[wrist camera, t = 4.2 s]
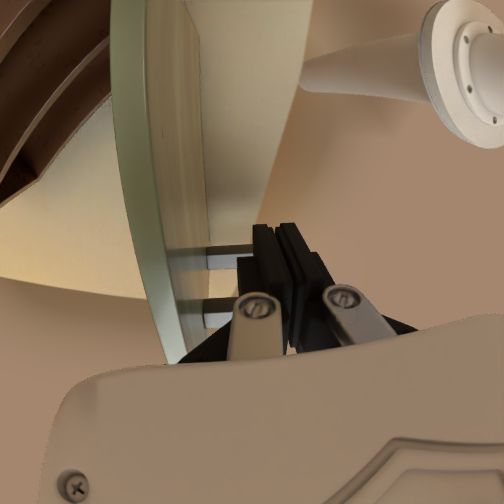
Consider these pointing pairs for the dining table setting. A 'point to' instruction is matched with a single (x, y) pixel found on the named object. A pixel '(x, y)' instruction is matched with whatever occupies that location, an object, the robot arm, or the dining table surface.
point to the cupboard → (48, 82)
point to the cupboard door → (166, 169)
